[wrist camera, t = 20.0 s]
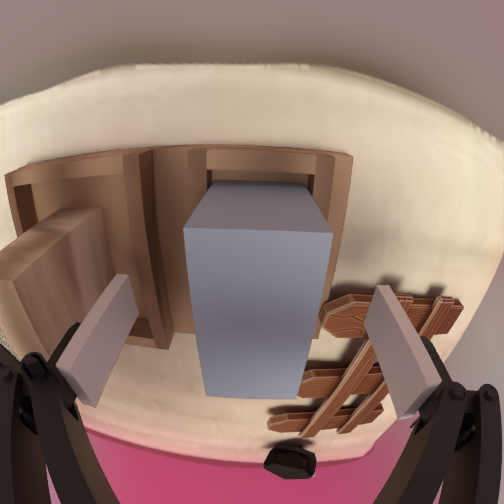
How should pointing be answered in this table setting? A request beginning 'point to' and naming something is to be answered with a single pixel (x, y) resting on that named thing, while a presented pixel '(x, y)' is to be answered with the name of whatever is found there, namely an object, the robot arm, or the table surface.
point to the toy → (291, 462)
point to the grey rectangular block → (255, 285)
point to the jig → (169, 211)
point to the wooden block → (53, 278)
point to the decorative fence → (358, 364)
